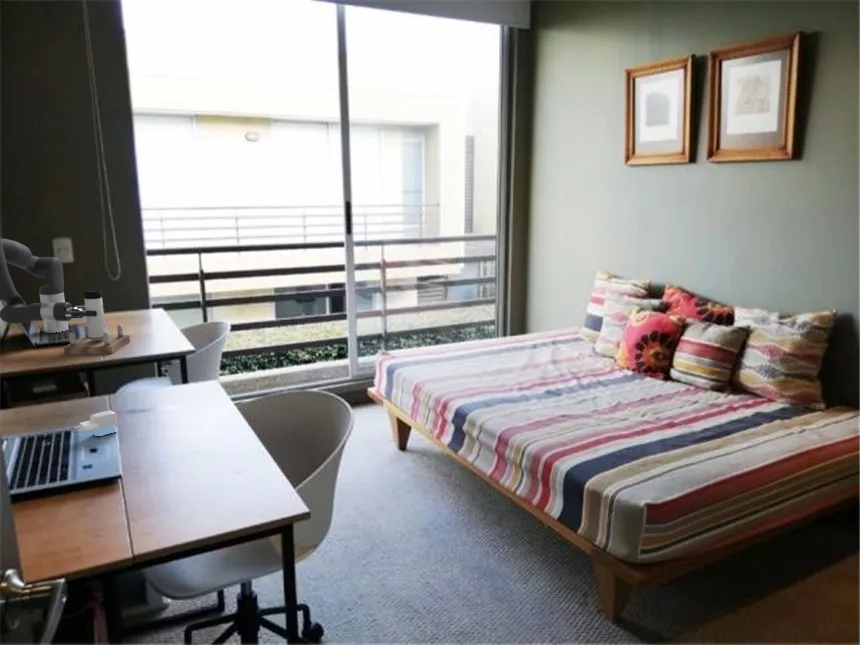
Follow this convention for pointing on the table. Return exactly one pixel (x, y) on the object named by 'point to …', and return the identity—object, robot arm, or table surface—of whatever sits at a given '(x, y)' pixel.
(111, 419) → the power adapter
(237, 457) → the table surface
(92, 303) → the travel mug
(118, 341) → the peg stand
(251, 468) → the table surface
